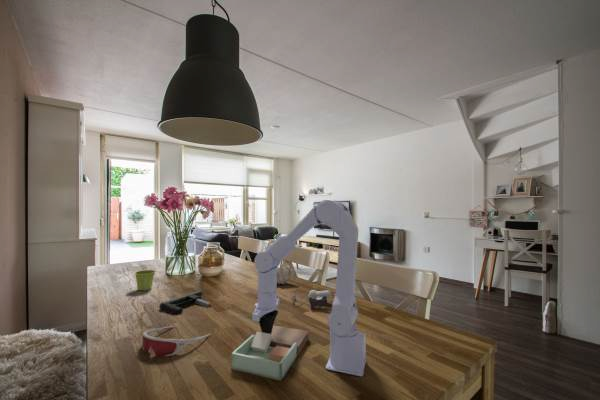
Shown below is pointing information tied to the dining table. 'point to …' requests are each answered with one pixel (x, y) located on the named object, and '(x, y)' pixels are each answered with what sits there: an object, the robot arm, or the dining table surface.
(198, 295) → the door handle
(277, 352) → the terracotta tile
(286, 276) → the seashell
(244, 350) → the green bin
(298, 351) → the walnut plate
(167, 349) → the sunglasses
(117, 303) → the dining table surface
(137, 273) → the plant pot
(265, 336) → the white tile
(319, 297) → the clip-on lamp
